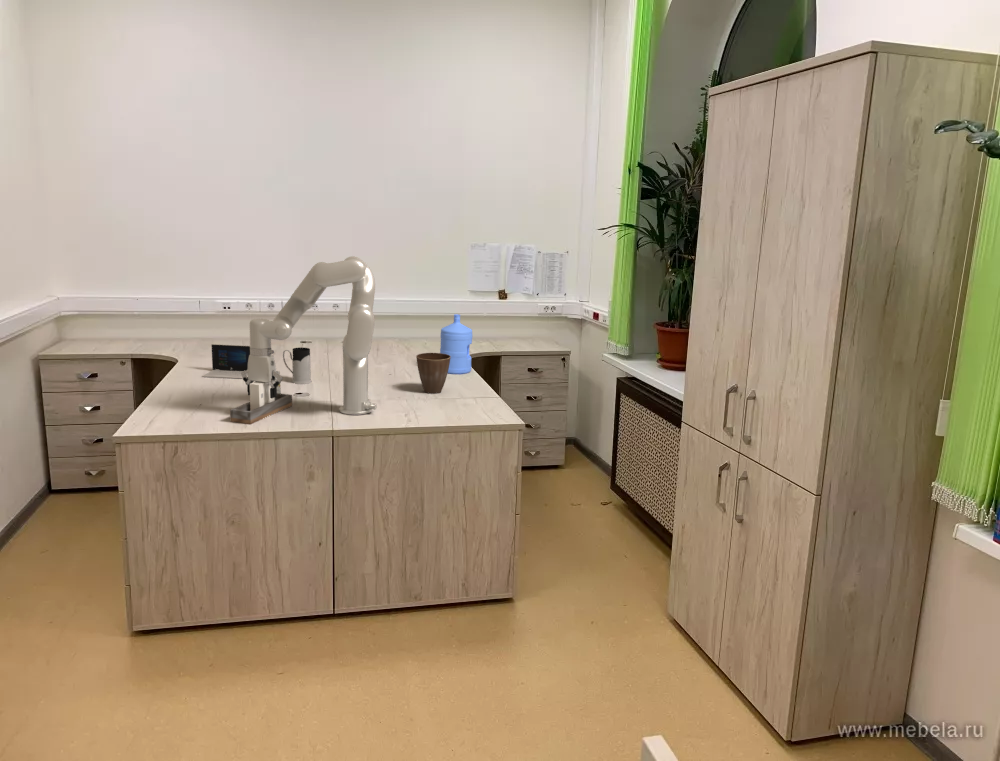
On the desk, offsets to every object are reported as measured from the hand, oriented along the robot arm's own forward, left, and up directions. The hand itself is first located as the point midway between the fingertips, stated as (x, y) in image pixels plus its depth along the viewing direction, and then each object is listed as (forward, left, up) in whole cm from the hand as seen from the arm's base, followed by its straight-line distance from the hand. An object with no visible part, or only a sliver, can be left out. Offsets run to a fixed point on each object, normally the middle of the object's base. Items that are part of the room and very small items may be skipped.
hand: (262, 396), depth 289 cm
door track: (0, 0, -7) cm, 7 cm away
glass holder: (+16, -51, -7) cm, 54 cm away
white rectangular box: (0, 0, -5) cm, 5 cm away
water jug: (-41, -104, -7) cm, 112 cm away
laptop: (+50, -47, -7) cm, 69 cm away
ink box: (+9, -18, -7) cm, 21 cm away
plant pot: (-46, -60, -7) cm, 76 cm away
